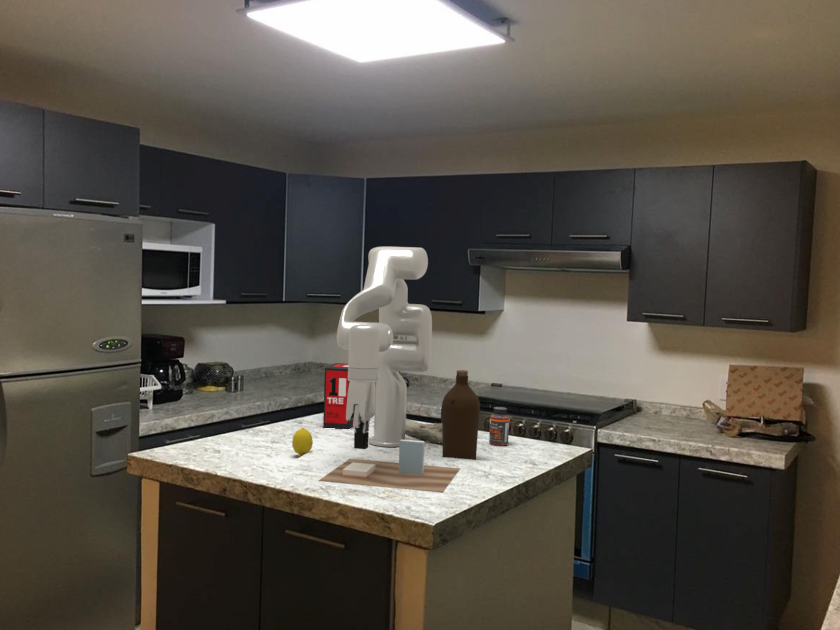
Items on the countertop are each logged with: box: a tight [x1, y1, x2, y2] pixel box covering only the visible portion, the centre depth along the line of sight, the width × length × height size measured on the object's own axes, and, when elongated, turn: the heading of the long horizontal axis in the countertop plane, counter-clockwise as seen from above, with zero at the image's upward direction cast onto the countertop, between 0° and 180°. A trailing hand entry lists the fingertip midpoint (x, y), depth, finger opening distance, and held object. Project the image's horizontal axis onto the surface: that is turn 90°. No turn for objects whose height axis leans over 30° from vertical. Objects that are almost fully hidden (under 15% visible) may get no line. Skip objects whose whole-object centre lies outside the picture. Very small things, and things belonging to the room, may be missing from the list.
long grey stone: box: [405, 418, 443, 444], centre depth 248 cm, size 35×5×10 cm
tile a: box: [343, 462, 376, 478], centre depth 190 cm, size 2×6×8 cm
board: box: [318, 458, 461, 498], centre depth 190 cm, size 24×30×2 cm
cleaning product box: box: [322, 362, 354, 430], centre depth 261 cm, size 16×9×20 cm, turn 174°
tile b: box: [398, 439, 425, 475], centre depth 192 cm, size 2×6×8 cm, turn 77°
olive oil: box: [441, 369, 481, 461], centre depth 214 cm, size 11×11×25 cm
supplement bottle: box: [488, 406, 510, 447], centre depth 237 cm, size 6×6×11 cm
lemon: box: [291, 427, 314, 457], centre depth 212 cm, size 6×6×8 cm
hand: (361, 448), depth 190 cm, fingers closed
